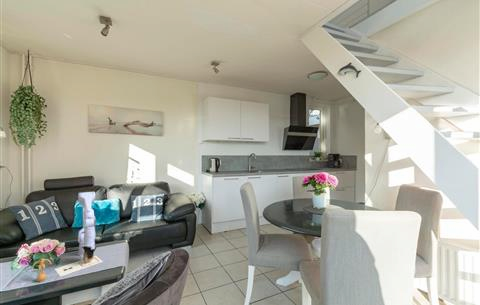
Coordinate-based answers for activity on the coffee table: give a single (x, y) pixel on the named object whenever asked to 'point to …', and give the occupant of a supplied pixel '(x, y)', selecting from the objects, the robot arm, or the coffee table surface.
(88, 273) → the coffee table surface
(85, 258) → the stained block
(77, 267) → the card
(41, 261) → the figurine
